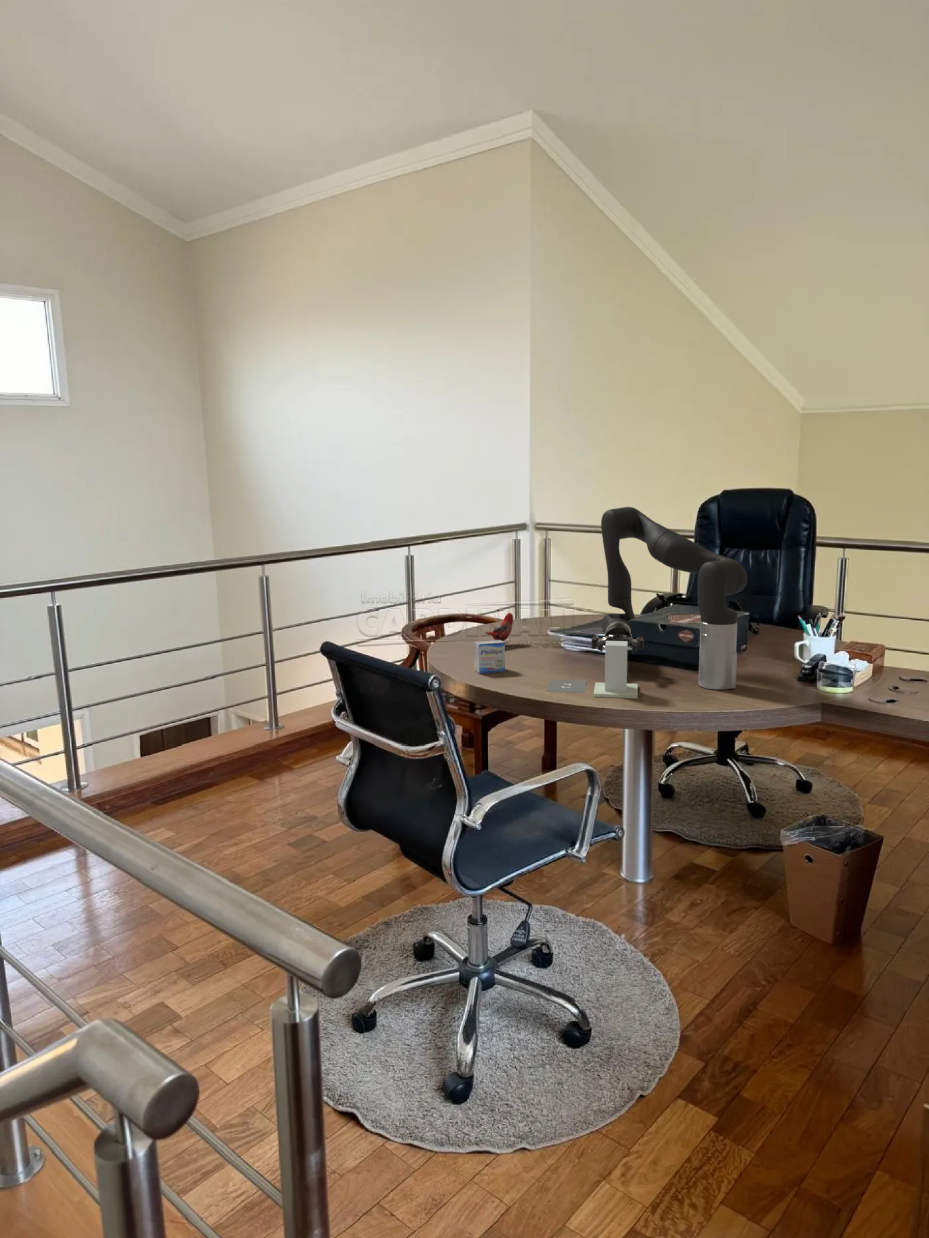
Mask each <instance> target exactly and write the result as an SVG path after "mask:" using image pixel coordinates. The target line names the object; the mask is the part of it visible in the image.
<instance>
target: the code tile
mask: <svg viewBox="0 0 929 1238" xmlns="http://www.w3.org/2000/svg"><path fill="white" fill-rule="evenodd" d="M587 682H588V680H580V679H579V680H575V679H574V680H573V679H549V682H548V684H547V687H546V689H545V692H548V693H549V692H550V693H551V692H552V693H553V692H554V693H580V694H582V693H583V694H584V693H586V692H585V691H586V687H587Z"/></svg>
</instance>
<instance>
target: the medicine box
mask: <svg viewBox="0 0 929 1238" xmlns="http://www.w3.org/2000/svg"><path fill="white" fill-rule="evenodd" d="M505 643H506V642H505ZM505 643H504V641H501V640H495V639H494V640H485V641H474V643H473V644H474V670H475V671H476V672H477V673H478V674H479V675H483V674H485V675H486V674H494V673H500V672H501V673H502V672H506V647H505V646H506V644H505Z"/></svg>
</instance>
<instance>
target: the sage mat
mask: <svg viewBox="0 0 929 1238" xmlns="http://www.w3.org/2000/svg"><path fill="white" fill-rule="evenodd" d="M594 683H595V684H594V690H593V697H594V698H613V699H614V698H618V699H639V697H638V693H639V690H638V686H639V685H638V683H628V682H627V692H618V691H605V682H594Z"/></svg>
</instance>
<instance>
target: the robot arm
mask: <svg viewBox="0 0 929 1238" xmlns="http://www.w3.org/2000/svg"><path fill="white" fill-rule="evenodd" d="M600 528H601V536H602V544H603V550H604V556H605V563H606V570H607V604H608V605H609V606H610V607H612V608H615V609H620V610H622V611H623V612H624V613H607V614H605V615H604V616H603V618H602V620H601V629H602V632H603V635H604V636H603V637H602V638H600V637H599V636H598V635H593V636H592V638H591V649H592V650H595V649H597V651H599V653H603V651H604V650H605V644H606V641H627V651H631V653H633V654H635V652H637V651H638V649H639V650H640V651H644V650H645V647H644V644H645V640H644V637H643V636H638V637H637V638H636V639H634V638H633V636H632V634H631V628H630V625H629V624H628V622H626V621H628V620H631V619H634V618H635V619H636V615H635V613H634V612H635V611H634V609H633V604H632V578H631V574H630V572H629V570H628V567H627V566H626V564H625V562H624V561H623V558H622V556H621V553H620V540H624V539H631V538H632V539H637V540H640V541H641V542H643V543H644V544H646V547H647V551H648V553H649V554H650V556H651V557H652V558H653V559H654V560H656V561H657V562H659V563H661V564H663V565H665V567H668V568H670V569H673V570H677V571H681V572H685V573H690V574H695V575H697V607H698V613H699V615H700V624H699V625H700V627H699V630H700V632H699V655H698V657H699V658H698V685H699V686H700V687H702V688H704V689H709V690H729V689H730V690H731V689H736V686H737V665H738V664H737V663H738V652H737V638H738V635H737V634H738V612H737V610H735V609H733V608H729V607H728V606H727V602H726V601H727V600H726V596H732V595H735V594H738V593H739V592H742V591H743V590H744V589H745V587H747V584H748V574H747V571H746V569H745V568H744V567H743V565H742V564H741V563H740V562H738V561H736V560H735V559H732V558H730V557H728V556H727V557H726V556H723V555H722V554H718V553H716V552H714V551H711V550H709V549H707V548H706V547H704V546H702V545H700V544H698V543H696V542H694V541H692V540H690V539H688V538H687V537H685V536H683V535H681V534H680V533H678V532H676V531H674V530H671V529H669V528H667V527H665V526H664V525H662V524H660V523H658V522H656V521H655V520H653V519H651V518H650V517H648V516H647V515H646V514H644V513H643V512H641V511H640V510H639V509H637V508H635V507H632V506H625V507H618V508H617V507H615V508H611V509H608V510H606V511H605V512H603V514H602V517H601V521H600Z"/></svg>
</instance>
